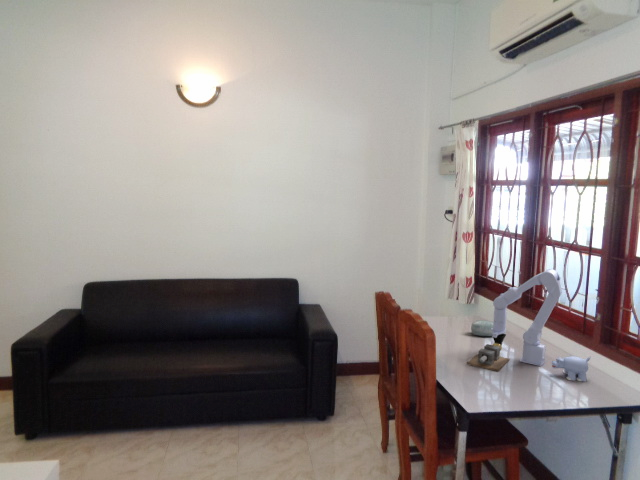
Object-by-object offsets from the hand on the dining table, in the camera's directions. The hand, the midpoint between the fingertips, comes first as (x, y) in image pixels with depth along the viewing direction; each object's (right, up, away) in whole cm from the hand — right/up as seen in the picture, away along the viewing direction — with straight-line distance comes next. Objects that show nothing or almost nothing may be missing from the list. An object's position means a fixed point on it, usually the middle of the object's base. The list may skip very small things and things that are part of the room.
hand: (498, 348), depth 240 cm
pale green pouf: (+3, 0, +29) cm, 29 cm away
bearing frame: (-8, -4, -11) cm, 14 cm away
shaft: (-7, -2, -10) cm, 13 cm away
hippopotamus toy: (+22, -7, -25) cm, 34 cm away
